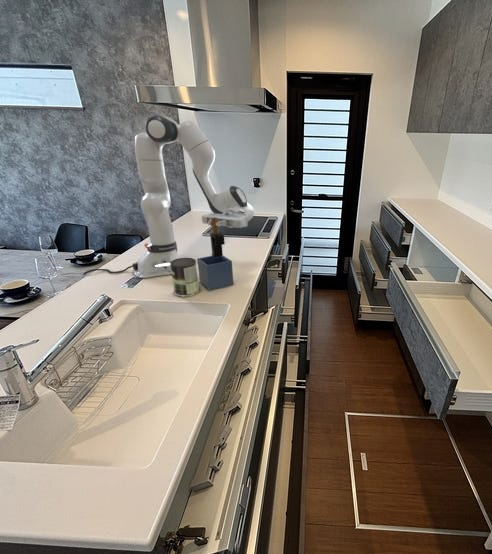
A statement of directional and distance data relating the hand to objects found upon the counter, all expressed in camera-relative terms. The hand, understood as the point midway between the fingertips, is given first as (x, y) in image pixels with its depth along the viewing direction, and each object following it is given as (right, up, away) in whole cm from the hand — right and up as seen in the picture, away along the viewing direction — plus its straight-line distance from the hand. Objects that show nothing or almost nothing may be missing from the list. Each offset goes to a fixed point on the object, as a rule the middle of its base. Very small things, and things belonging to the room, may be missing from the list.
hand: (213, 224), depth 129 cm
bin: (-2, -26, +13) cm, 29 cm away
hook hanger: (+1, -13, +6) cm, 15 cm away
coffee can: (-13, -29, +4) cm, 32 cm away
